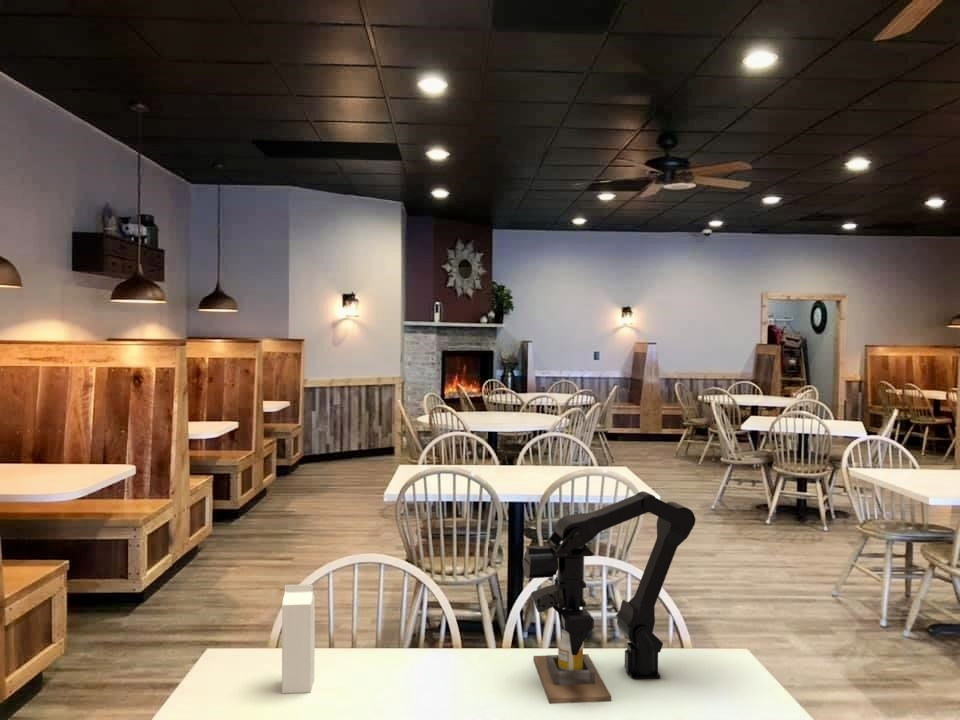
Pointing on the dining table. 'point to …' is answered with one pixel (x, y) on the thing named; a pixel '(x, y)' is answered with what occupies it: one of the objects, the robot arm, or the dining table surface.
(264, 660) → the dining table surface
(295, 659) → the milk
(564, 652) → the supplement bottle
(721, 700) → the dining table surface
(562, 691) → the can holder
